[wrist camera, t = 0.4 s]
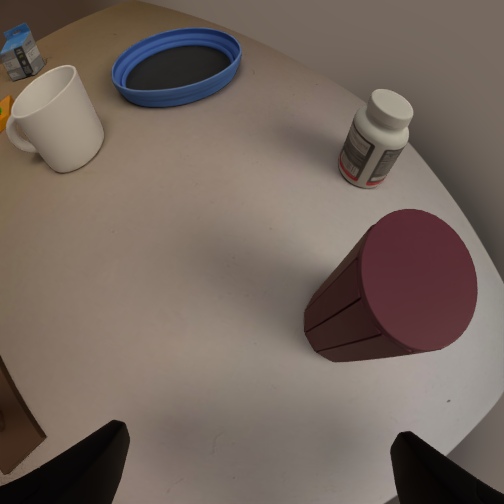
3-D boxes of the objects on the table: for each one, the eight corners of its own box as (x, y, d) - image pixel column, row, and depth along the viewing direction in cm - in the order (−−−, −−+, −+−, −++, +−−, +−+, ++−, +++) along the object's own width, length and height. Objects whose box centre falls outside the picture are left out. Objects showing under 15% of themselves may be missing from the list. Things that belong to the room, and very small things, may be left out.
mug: (23, 188, 29) (-21, 139, 19) (38, 140, 32) (5, 91, 22) (100, 166, 29) (62, 101, 20) (110, 118, 32) (84, 56, 23)
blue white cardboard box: (12, 82, 40) (-9, 43, 28) (22, 70, 41) (3, 32, 30) (35, 75, 39) (14, 32, 28) (46, 63, 41) (27, 21, 29)
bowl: (112, 127, 32) (103, 107, 28) (123, 59, 38) (118, 43, 35) (254, 97, 34) (255, 75, 30) (229, 37, 40) (229, 20, 37)
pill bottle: (382, 157, 31) (415, 95, 21) (384, 195, 29) (426, 133, 20) (337, 145, 31) (361, 77, 22) (335, 183, 29) (365, 113, 20)
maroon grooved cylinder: (392, 333, 23) (494, 297, 11) (329, 377, 22) (411, 382, 10) (353, 269, 26) (428, 190, 14) (289, 307, 24) (330, 245, 12)
